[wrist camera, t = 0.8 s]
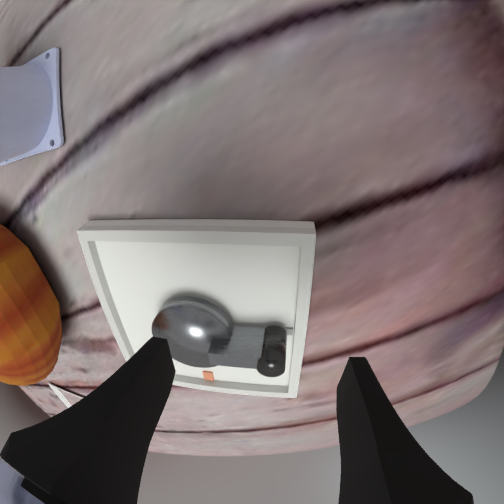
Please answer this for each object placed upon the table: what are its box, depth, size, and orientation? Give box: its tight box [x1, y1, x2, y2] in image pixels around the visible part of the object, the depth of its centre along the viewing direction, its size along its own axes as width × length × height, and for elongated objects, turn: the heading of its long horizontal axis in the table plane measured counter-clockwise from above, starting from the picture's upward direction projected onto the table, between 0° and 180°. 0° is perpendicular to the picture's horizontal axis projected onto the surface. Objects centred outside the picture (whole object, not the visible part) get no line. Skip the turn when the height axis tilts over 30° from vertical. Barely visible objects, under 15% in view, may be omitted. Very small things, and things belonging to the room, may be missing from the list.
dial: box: [152, 296, 287, 377], centre depth 19 cm, size 10×6×3 cm, turn 92°
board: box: [77, 219, 316, 398], centre depth 21 cm, size 16×16×2 cm
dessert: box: [48, 383, 84, 408], centre depth 36 cm, size 12×12×5 cm
